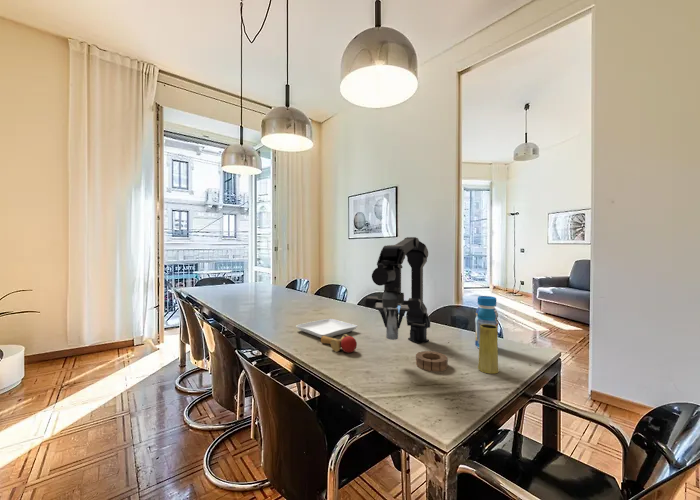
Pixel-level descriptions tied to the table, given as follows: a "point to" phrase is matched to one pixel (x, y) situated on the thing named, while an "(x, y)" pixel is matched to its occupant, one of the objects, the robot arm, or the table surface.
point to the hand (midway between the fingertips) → (392, 327)
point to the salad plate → (326, 327)
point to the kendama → (341, 343)
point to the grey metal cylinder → (392, 323)
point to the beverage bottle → (485, 314)
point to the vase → (488, 349)
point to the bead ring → (431, 361)
